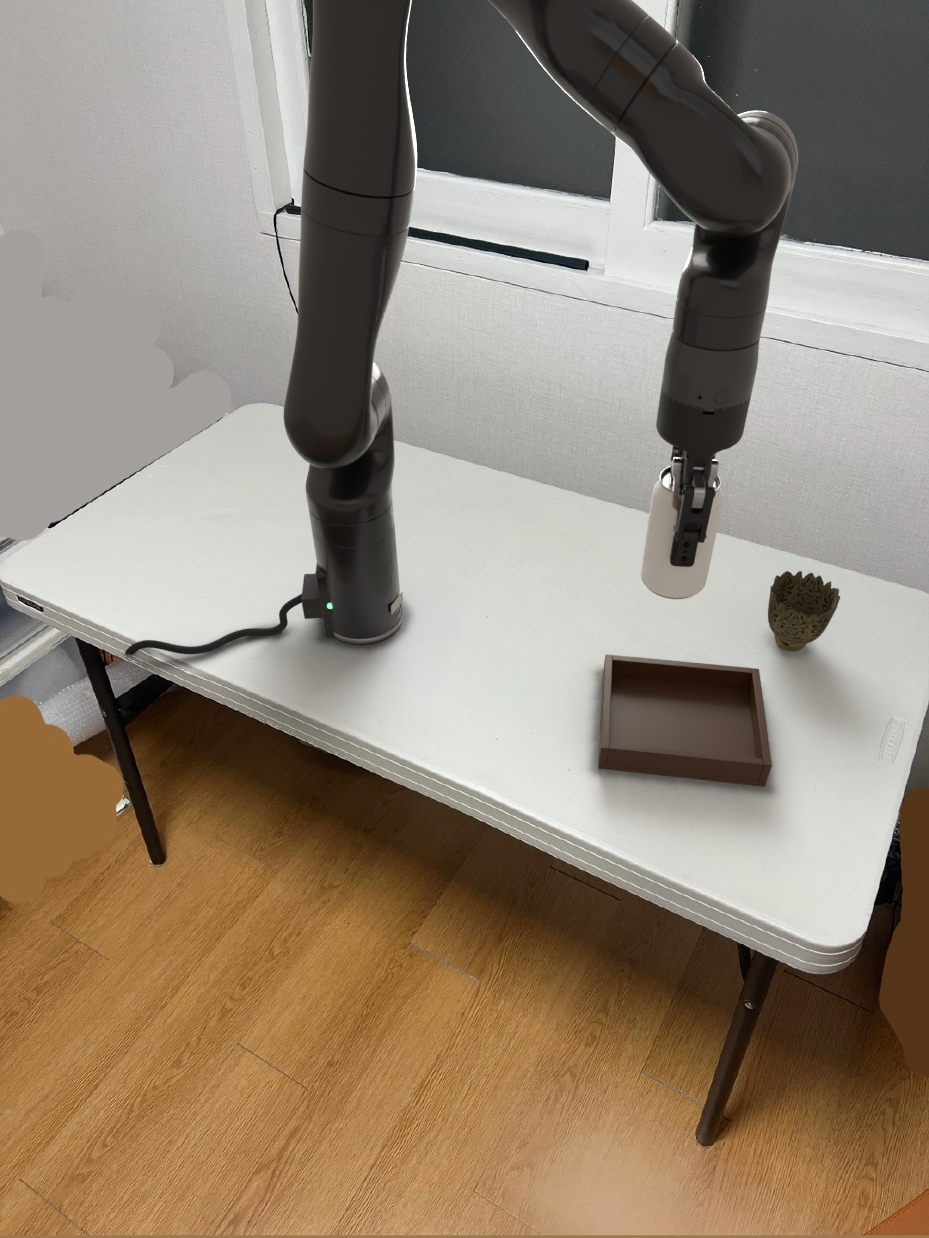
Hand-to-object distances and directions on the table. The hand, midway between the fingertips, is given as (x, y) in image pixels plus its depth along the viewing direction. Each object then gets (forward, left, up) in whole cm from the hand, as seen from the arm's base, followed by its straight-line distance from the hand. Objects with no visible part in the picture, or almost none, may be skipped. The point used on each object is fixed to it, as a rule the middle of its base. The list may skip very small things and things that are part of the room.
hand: (679, 541), depth 87 cm
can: (0, 0, -5) cm, 5 cm away
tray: (+1, -6, -20) cm, 21 cm away
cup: (+17, +6, -20) cm, 27 cm away
